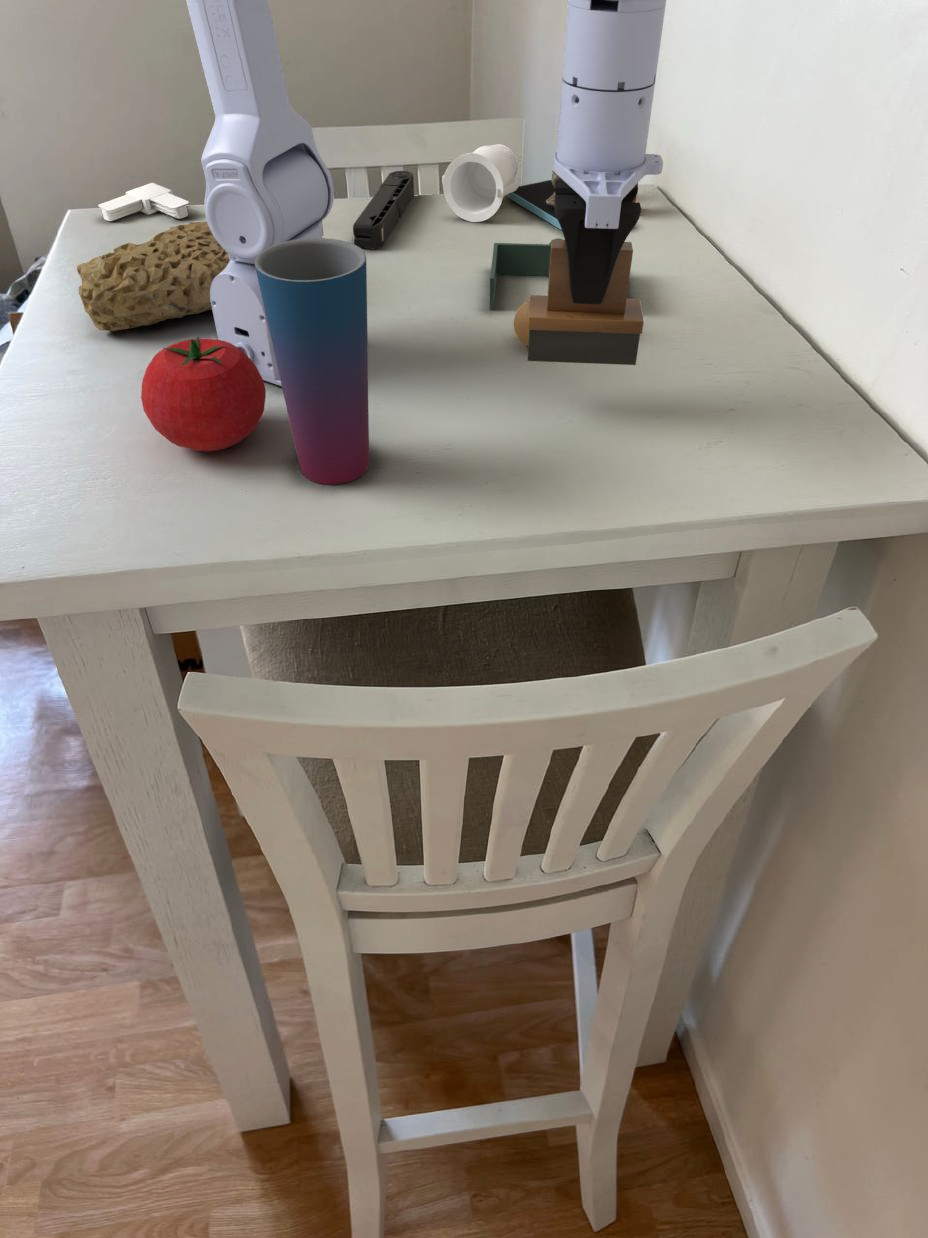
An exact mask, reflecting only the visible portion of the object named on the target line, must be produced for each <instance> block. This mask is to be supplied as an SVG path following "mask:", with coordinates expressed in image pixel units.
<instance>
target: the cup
mask: <svg viewBox="0 0 928 1238" xmlns="http://www.w3.org/2000/svg"><path fill="white" fill-rule="evenodd" d="M367 266H368V265H367V255H366V252H365V251H364V250H363V248H360V247H358V246H356V245H354V243H352V242H349V241H345V240H342V239H334V238H328V237H327V238H326V237H322V238H306V239H297V240H290V241H286V242H282V243H279V244H276V245H273V246H271V247H269V248H267V249H265V250H264V251H262V252H261V253H260V254H259V255H258V256H257V257H256V259H255V268H256V273H257V277H258V282H259V286H260V291H261V295H262V300H263V304H264V309H265V313H266V317H267V322H268V326H269V331H270V335H271V340H272V344H273V349H274V353H275V358H276V362H277V367H278V371H279V376H280V380H281V385H282V386H281V389H282V393H283V398H284V402H285V407H286V411H287V414H288V420H289V425H290V430H291V435H292V439H293V442H294V447H295V452H296V456H297V461H298V465H299V470H300V472H301V474H302V475H303V476H304V477H305V479H308V480H309V481H312V482H314V483H317V484H321V485H341V484H347V483H350V482H352V481H355V480H356V479H359V478H360V477H361V476H363V475H364V474H365V473H366V472H367V470H368V469H369V466H370V428H369V427H370V425H369V423H370V422H369V418H370V417H369V416H370V415H369V366H368V365H369V351H368V347H369V345H368V342H369V341H368V286H367V285H368V282H367V281H368V279H367V278H368V277H367V275H368V272H367V269H368V268H367Z"/></svg>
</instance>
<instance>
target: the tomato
mask: <svg viewBox="0 0 928 1238" xmlns="http://www.w3.org/2000/svg"><path fill="white" fill-rule="evenodd" d="M142 377H143V378H142V381H141V391H140V398H141V404H142V409H143V412H144V414H145V415H146V417H147V419H148V421H149V422H150V424H151V426H152V427H153V429H154V430H155V431H156V432H158V433H159V434H160V435H161V436H162V437H164V438H165V439H166V440H167V441H169V442H170V443H171V444H173V445H176V446H178V447H181V448H186V449H188V450H192V451H196V452H197V451H198V452H216V451H222V450H225V449H229V448H230V447H233V446H235V445H236V444H239V442H241V441H243V440H244V439H246V438H247V437H248V436H249V435H250V434H252V433H253V432H254V430H255V429H256V428H257V426H258V424H259V422H260V420H261V418H262V416H263V414H264V411H265V405H266V395H267V394H266V392H267V390H266V386H265V381H264V380H263V379H262V377H261V375H260V373H259V371H258V369H257V367H256V365H255V364H254V363H253V362H252V361H251V360H250V358H249V357H248V356H247V355H246V354H245V353H244V352H243V351H241V350H240V349H239V348H237V347H236V346H234V345H233V344H231V343H228V342H226V341H222V340H218V338H217V339H216V338H200V336H197V337H196V338H190V339H186V340H181V341H179V342H176V343H173V344H170V345H168V346H166V347H163V348H162V349H161V350H159V351H158V352H157V353H156V354H155V355H154V356H153V358H152V359H151V361H150V362H149V363H148V365H147V367H146V368H145V372H144V375H143V376H142Z"/></svg>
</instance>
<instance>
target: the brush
mask: <svg viewBox="0 0 928 1238" xmlns="http://www.w3.org/2000/svg"><path fill="white" fill-rule="evenodd" d="M550 242H551V252H550V266H549V276H548V280H547V281H548V283H547V294H546V295H540V294H538V295H537V294H530V295H529V296H528V297H529V300H528V301H529V316H528V330H529V337H528V346H527V362H541V363H544V362H545V363H549V362H550V363H566V364H567V363H568V364H570V363H571V364H596V365H618V366H619V365H620V366H621V365H622V366H636V365H637V359H638V352H639V345H640V339H641V334H643V330H644V316H643V310H642V303H641V299H640V298H628V299H627V292H628V285H629V279H631V278H630V277H631V270H632V261H633V254H634V249H633V244H632V241H625V242H624V244H623V246H622V248H621V250H620V252H619V255H618V257H617V260H616V263H615V266H614V269H613V272H612V275H611V278H610V282H609V285H608V288H607V291H606V294H605V296H604V298H603V301H602V303H601V304H578V303H573V301H572V297H571V291H570V281H569V265H568V254H567V247H566V243H565V239H563V240H554V239H551V240H550Z"/></svg>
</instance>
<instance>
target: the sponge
mask: <svg viewBox="0 0 928 1238" xmlns="http://www.w3.org/2000/svg"><path fill="white" fill-rule="evenodd" d="M169 228H170V229H166V230H165V231H162V232H160V233H157V234H155V235H154V237H152V238H151V239H150V240H148V241H146V242H144V243H140V244H135V243H131V242H127V243H125V244H121V245H119V246H117V247H116V248H114V249H112V251H113V252H111V251H110V252H107V253H105V254H102V255H99V256H97V257H93V258H91V260H89V261H87V262H83V263H80V264H77V265H76V271H77V274H78V275H79V277H80V279H81V284H80V286H78V295H79V296H80V300H81V302H82V305H83V307H84V311H85V313H86V314H88V317H90V319H91V321H92V323H93V324H94V326H95V327H96V328H97V329H98V330H100V331H104V332H106V331H111V332H117V331H122V330H128V329H134V328H140V327H142V326H151V325H154V324H157V323H159V322H163V321H164V322H165V321H166V320H167V319H175V318H176V319H178V318H179V319H181V318H183V317H185V316H188V315H199V314H200V313H203V312H208V311H210V310H212V306H211V301H210V288H211V284H212V281H213V279H214V278H215V277H216V276H217V275H218V274H220V273H221V272H222V271H223V270H224V269H225V268H226V267H227V265H228V263H229V262H230V259H229V254H228V252H227V251H226V250H224V249H223V248H222V246H221V245H220V244H219V243H218V242H217V240H216V239H215V237H214V236H213V234H212V232H211V230H210V228H209V225H208V223H207V221H198V222H197V221H196V222H188V223H186V224H179V225H175V226H171V227H169Z"/></svg>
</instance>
